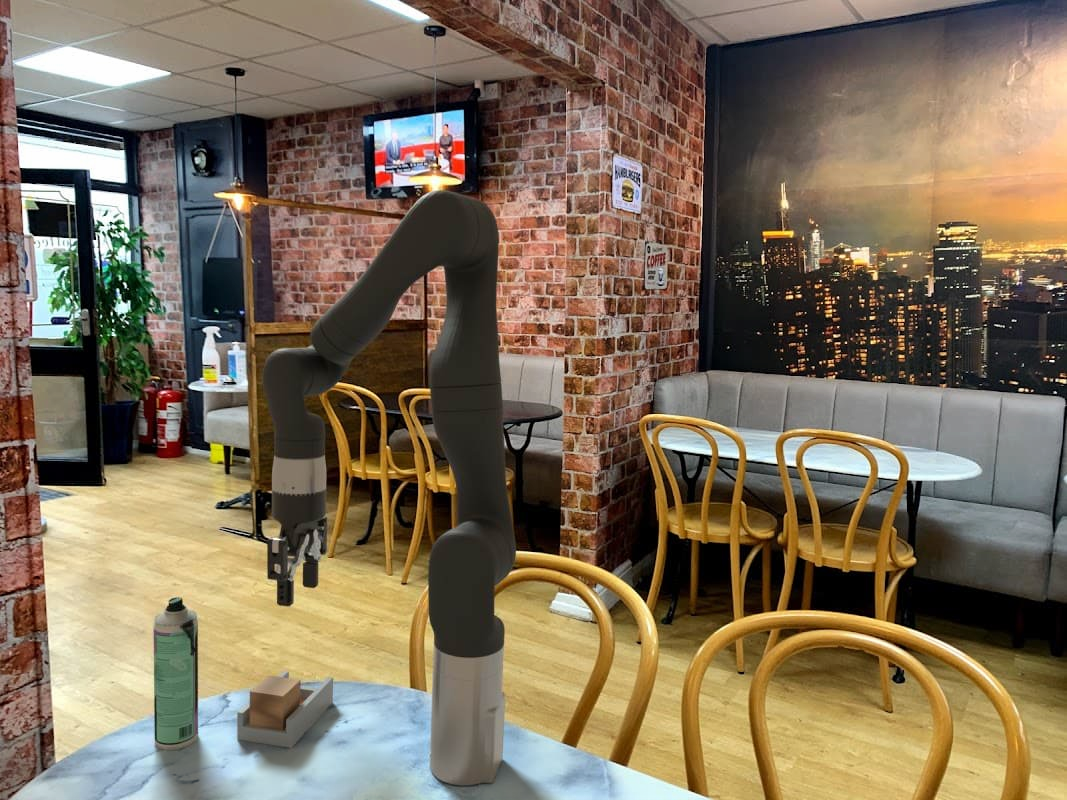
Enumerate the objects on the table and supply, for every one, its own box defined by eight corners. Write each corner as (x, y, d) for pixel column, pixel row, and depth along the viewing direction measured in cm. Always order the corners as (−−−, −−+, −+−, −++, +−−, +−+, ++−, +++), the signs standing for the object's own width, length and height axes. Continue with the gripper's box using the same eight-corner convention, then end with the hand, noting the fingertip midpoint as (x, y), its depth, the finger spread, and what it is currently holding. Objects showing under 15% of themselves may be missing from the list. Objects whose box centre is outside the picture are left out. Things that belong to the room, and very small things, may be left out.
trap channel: (332, 702, 120) (333, 677, 120) (291, 748, 107) (291, 720, 107) (283, 695, 121) (284, 670, 121) (237, 739, 109) (237, 712, 108)
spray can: (205, 730, 111) (205, 593, 108) (184, 751, 105) (184, 608, 103) (168, 726, 111) (167, 590, 109) (146, 747, 106) (144, 605, 103)
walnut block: (300, 712, 113) (300, 679, 112) (282, 730, 108) (283, 696, 107) (268, 708, 114) (268, 675, 113) (249, 725, 109) (249, 691, 108)
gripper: (300, 499, 106) (298, 616, 107) (344, 478, 120) (342, 582, 121) (248, 494, 107) (248, 610, 109) (298, 474, 121) (297, 577, 123)
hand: (298, 595), depth 115 cm, fingers open, 7 cm apart
